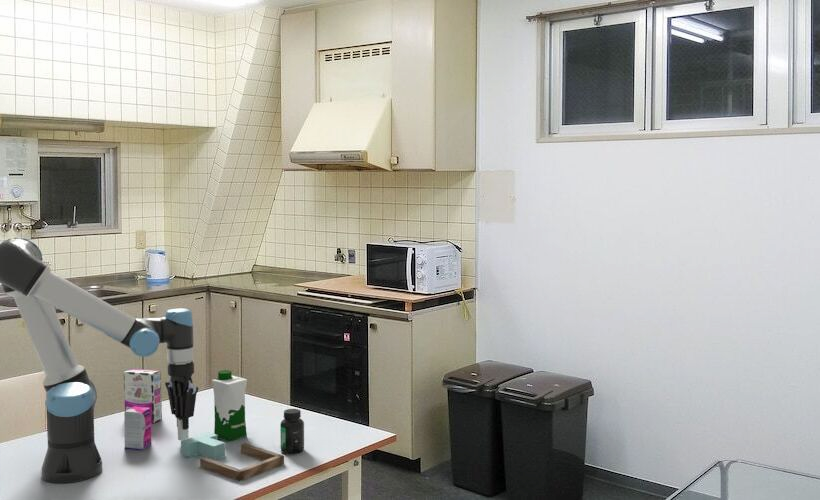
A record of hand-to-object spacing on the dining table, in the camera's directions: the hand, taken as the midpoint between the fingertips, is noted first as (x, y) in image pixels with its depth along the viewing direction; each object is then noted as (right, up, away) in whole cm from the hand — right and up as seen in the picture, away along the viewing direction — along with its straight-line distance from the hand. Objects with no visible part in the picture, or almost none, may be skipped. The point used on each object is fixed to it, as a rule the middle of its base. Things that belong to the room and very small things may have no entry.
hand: (183, 439), depth 239 cm
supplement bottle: (+33, -3, -4) cm, 34 cm away
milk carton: (+12, -1, +8) cm, 15 cm away
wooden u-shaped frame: (+20, -4, -16) cm, 26 cm away
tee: (+9, -3, -7) cm, 12 cm away
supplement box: (-13, -2, -1) cm, 13 cm away
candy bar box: (-20, 0, +24) cm, 31 cm away
